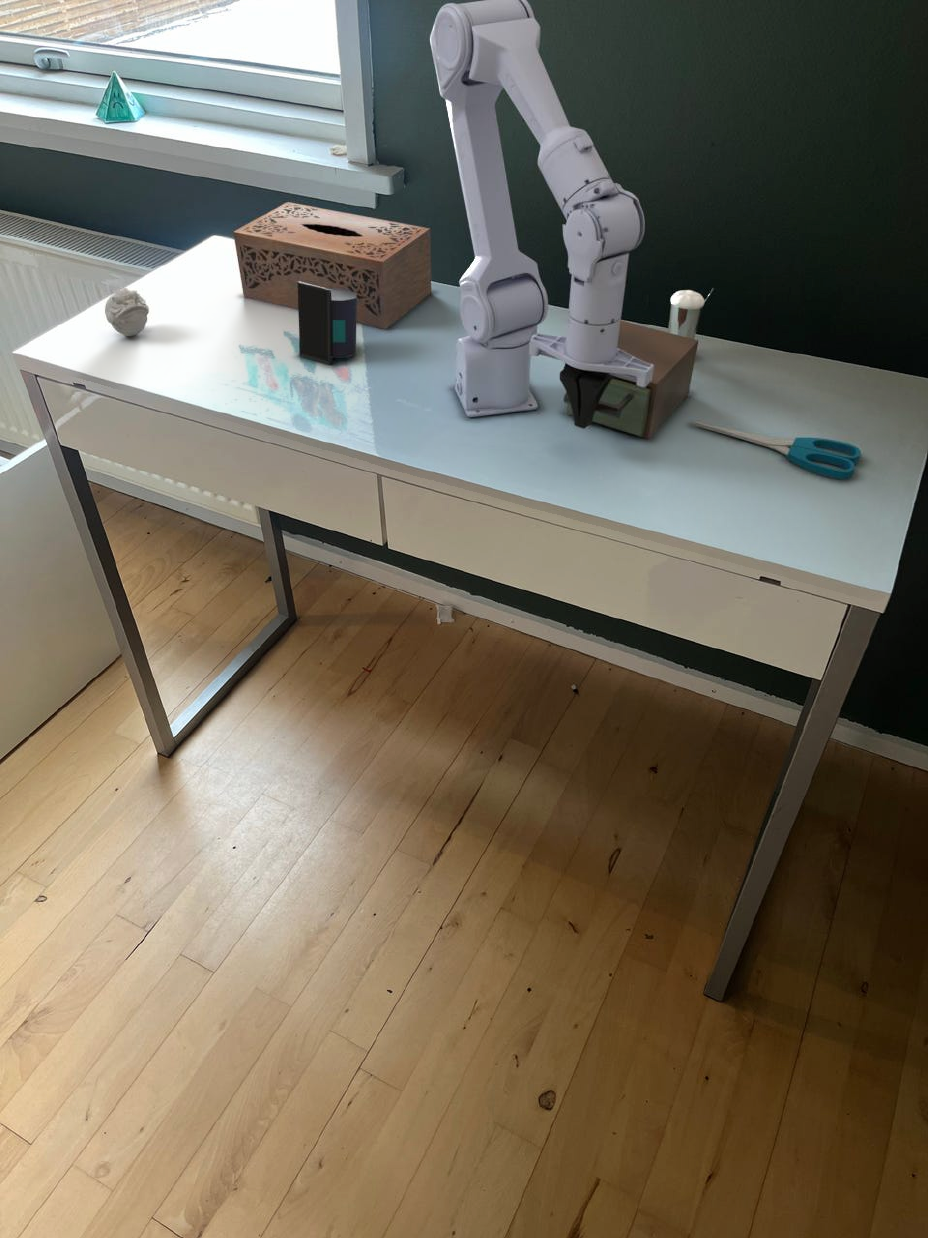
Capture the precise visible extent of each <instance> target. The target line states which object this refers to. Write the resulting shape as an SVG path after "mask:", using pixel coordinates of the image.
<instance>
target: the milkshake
mask: <svg viewBox="0 0 928 1238" xmlns="http://www.w3.org/2000/svg"><path fill="white" fill-rule="evenodd" d="M713 290H714V288H712V289H710V292H709V293H708V294H707V296H706V298H705V299H704V297H703V296H702V294H701V293H699V292H696V291H694V290H691V289H684V290H682V289H681V290H678V291H675V293H673V294H672V295H671V297H670V302H669V316H668V317H669V320H668V329H667V330H668V331H667V332H668V333H672V334H676V335H679V336H683V337H687V338H691V339H695V338H696V334H697V331H698V327H699V323H700V319H701V316H702V313H703V309H704V305H705V302H706V301H707V300H708V298H709V296H710V295H711V293H712V292H713Z"/></svg>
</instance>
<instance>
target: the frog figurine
mask: <svg viewBox="0 0 928 1238" xmlns="http://www.w3.org/2000/svg"><path fill="white" fill-rule="evenodd" d="M104 313H105V318H106V320H107V322H108V324H110V325H111V326H112V328H113V329H114V330H115V331H116V332H117V333H119V334H121V335H122V336H127V337H132V336H137V335H138V334H140V333H142V332H143V330H144V329H145V326H146V324H147V322H148V314H149V313H150V308H149V306H148V304H147V302H146V299H144V298H143V297H142V296H141V295H140V293H138V291H137V290H131V289H129V288H127V287H125V288H124V287H123V288H121V289H117V290H116V291H115V292H114V294H112V295H110V296H109V298H108V299H107V301H106V303H105V306H104Z"/></svg>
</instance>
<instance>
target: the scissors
mask: <svg viewBox="0 0 928 1238" xmlns="http://www.w3.org/2000/svg"><path fill="white" fill-rule="evenodd" d="M693 426H696V427H699V428H703V429H705V430H709V431H713V432H716V433H720V434H724V435H726V436H731V437H734V438H737V439H740V440H744V441H746V442H751V443H753V444H757V445H761V446H763V447H767V448H770V449H772V450H775V451H777V452H779V453H781V454H783V455H785V456H786V459H787V460H789V461H790V462H791V463H794V464H795V465H797V466H799V467H801V468H803V469H805V470H808V471H809V472H813V473H816V474H818V475H822V476H825V477H829V478H833V479H839V480H847V479H850V478H852V477H853V474H854V471H855V469H856V465H855V464H858V462H859V461H860V457H861V454H862V452H861V450H860V448H859V447H858V446H856V445H853V444H851V443H847V442H843V441H839V440H834V439H829V438H820V437H795V439H782V438H781V439H779V438H773V437H769V436H764V435H759V434H754V433H750V432H746V431H740V430H735V429H730V428H726V427H721V426H718V425H712V424H707V423H704V422H699V421H694V422H693ZM789 447H790V448H789ZM820 447H821V448H820ZM822 448H827V449H831V450H836V451H840V452H844V453H847V454H850V455H846V454H845V455H844V454H841V453H837V452H832V451H829V450H825V449H822ZM814 461H817V462H822V463H826V464H830V465H835V466H838V467H842V468H844V469H839V468H833V467H830V466H826V465H822V464H819V463H816V462H814Z"/></svg>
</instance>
